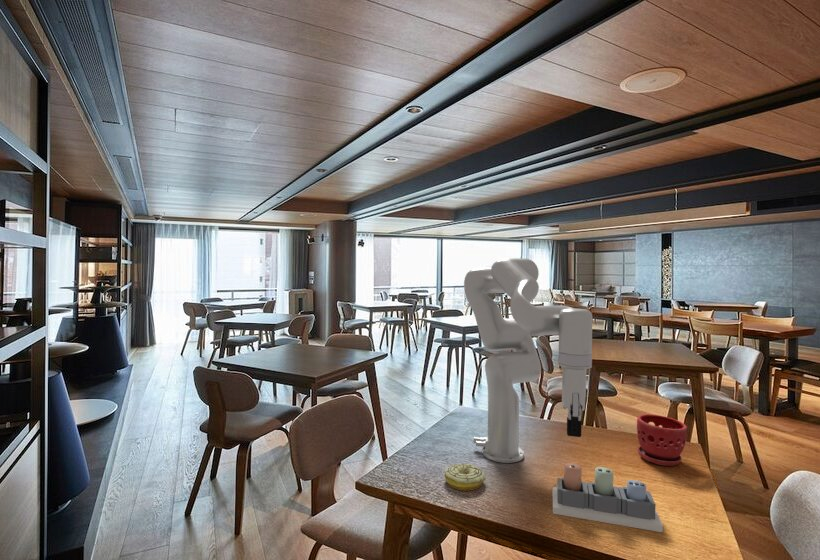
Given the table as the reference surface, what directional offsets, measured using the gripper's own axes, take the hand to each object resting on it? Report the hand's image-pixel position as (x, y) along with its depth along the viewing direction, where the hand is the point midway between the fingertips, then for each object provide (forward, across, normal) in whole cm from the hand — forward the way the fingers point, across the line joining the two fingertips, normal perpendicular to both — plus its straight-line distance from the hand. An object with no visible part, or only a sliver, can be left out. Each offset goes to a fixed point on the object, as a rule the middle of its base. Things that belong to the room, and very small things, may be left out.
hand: (573, 435), depth 105 cm
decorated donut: (+18, -3, -27) cm, 33 cm away
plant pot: (+18, -36, +27) cm, 48 cm away
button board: (+18, 0, +7) cm, 19 cm away
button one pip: (+13, 0, 0) cm, 13 cm away
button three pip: (+15, 0, +14) cm, 20 cm away
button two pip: (+13, 0, +7) cm, 15 cm away
